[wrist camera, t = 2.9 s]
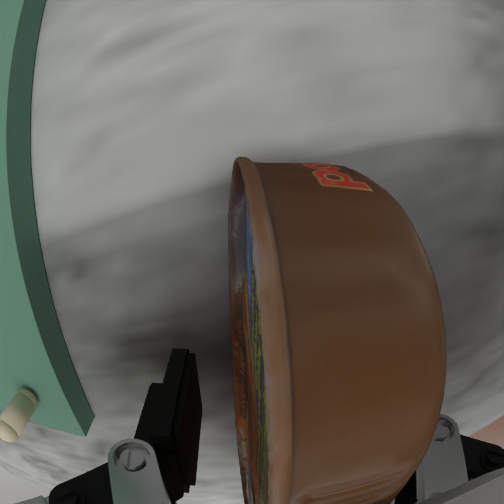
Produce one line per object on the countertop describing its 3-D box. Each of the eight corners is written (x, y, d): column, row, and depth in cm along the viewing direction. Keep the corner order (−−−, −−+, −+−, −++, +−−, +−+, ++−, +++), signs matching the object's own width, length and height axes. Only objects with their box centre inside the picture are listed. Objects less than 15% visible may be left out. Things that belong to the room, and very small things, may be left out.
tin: (227, 155, 9) (173, 167, 1) (324, 157, 10) (560, 199, 2) (237, 458, 14) (242, 592, 6) (294, 454, 14) (318, 585, 6)
